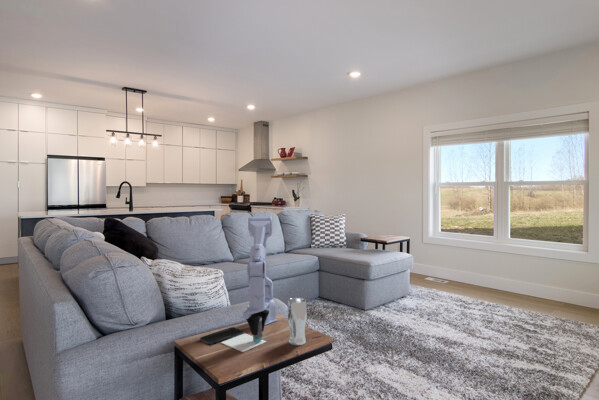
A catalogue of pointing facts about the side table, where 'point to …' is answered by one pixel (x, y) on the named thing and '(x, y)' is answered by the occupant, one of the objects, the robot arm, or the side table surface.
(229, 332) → the phone
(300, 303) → the beer glass
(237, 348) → the paper
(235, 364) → the side table surface
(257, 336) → the grey cylinder
